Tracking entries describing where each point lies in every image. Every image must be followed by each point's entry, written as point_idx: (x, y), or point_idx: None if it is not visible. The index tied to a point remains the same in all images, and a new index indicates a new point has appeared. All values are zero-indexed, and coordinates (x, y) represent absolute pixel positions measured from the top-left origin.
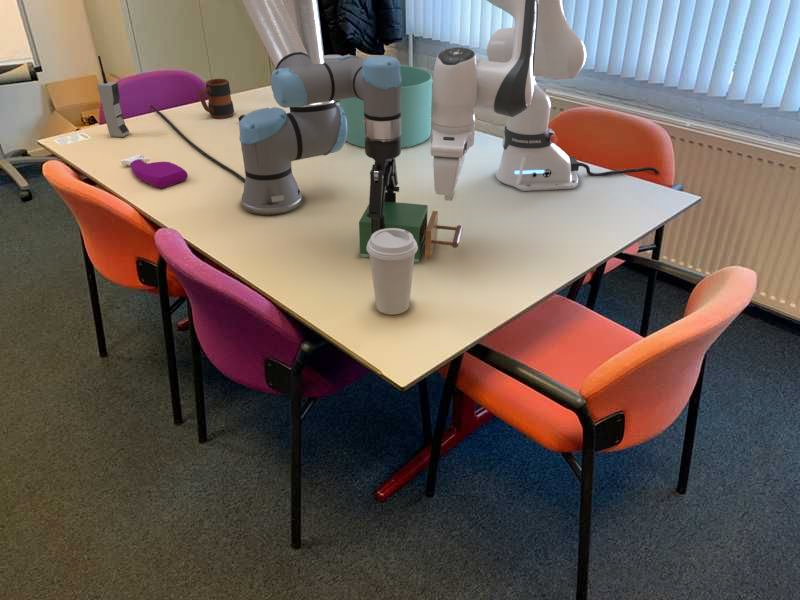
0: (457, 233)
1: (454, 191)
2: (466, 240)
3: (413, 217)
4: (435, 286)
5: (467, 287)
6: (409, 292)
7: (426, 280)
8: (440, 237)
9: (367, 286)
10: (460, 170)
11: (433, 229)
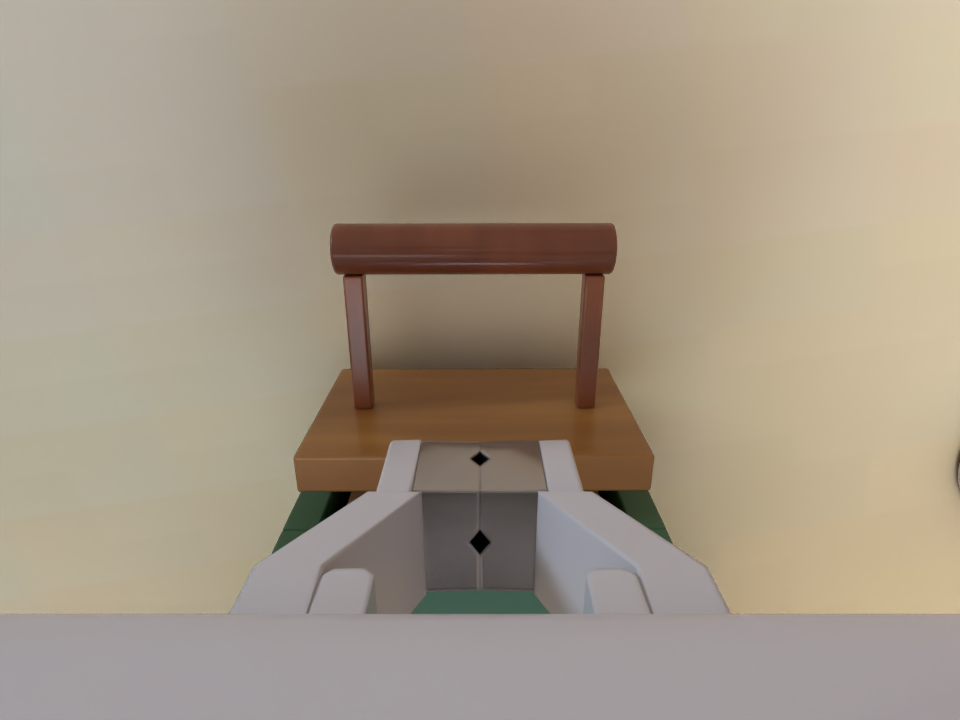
0: (475, 254)
1: (416, 466)
2: (288, 183)
3: (519, 608)
4: (860, 292)
5: (878, 107)
6: None
7: (797, 346)
8: (299, 345)
9: (849, 577)
10: (201, 672)
11: (521, 432)
